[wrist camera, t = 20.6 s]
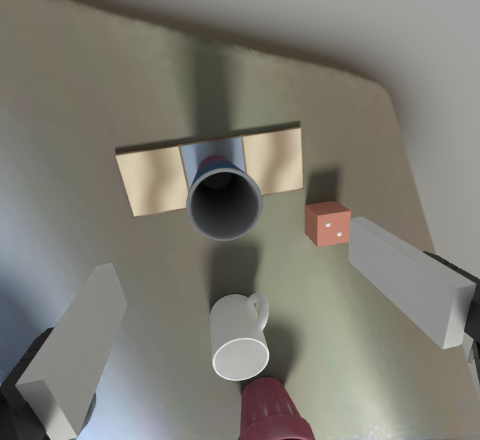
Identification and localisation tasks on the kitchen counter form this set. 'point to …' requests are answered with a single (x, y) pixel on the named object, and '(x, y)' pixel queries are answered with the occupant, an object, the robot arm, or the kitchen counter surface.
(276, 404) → the plant pot
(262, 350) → the mug
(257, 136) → the multicoloured flat piece
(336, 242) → the die
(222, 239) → the cup
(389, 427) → the kitchen counter surface
